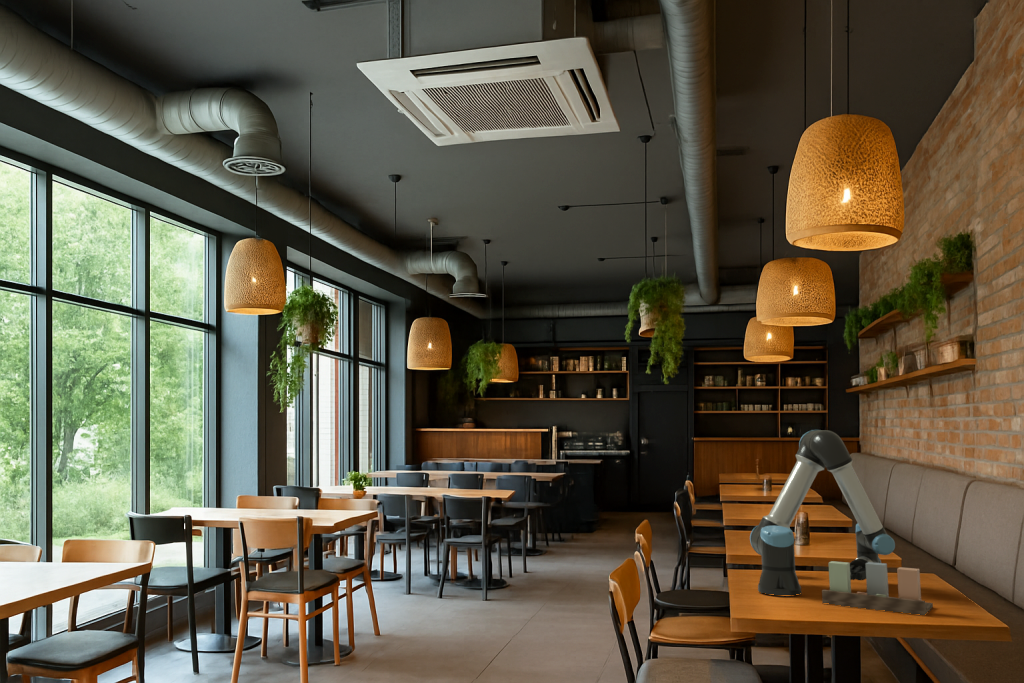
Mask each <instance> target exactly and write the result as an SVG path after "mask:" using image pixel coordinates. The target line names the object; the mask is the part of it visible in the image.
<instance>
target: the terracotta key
mask: <svg viewBox="0 0 1024 683" xmlns="http://www.w3.org/2000/svg"><path fill="white" fill-rule="evenodd" d="M896 569H897V570H896V572H897V573H896V574H897V575H896V576H897V589H898V590H897V591H898V598H904V599H913V600H922V591H921V574H920V573H921V572H920V568H913V567H900V566H899V567H897V568H896Z"/></svg>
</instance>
